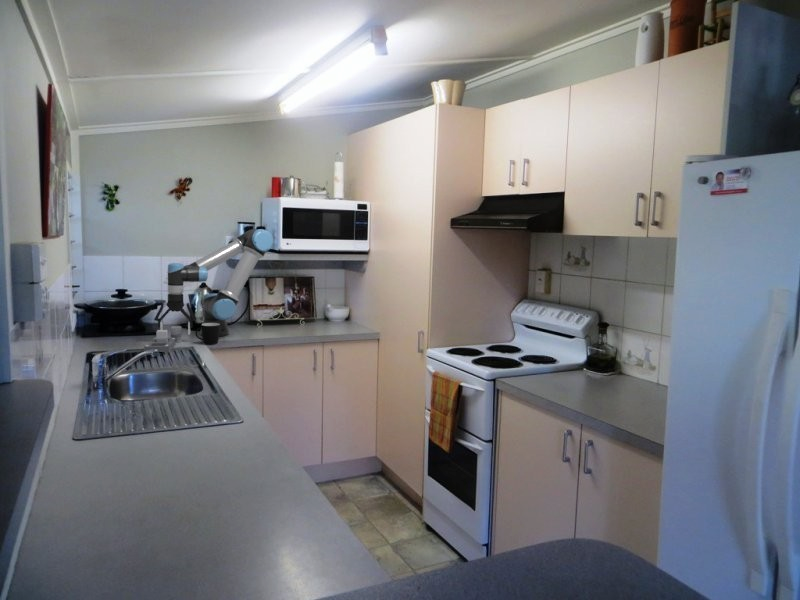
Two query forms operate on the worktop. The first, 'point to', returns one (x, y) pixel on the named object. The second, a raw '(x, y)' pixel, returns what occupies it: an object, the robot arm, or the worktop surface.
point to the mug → (209, 333)
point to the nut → (176, 333)
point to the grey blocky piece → (161, 342)
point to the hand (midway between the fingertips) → (175, 334)
